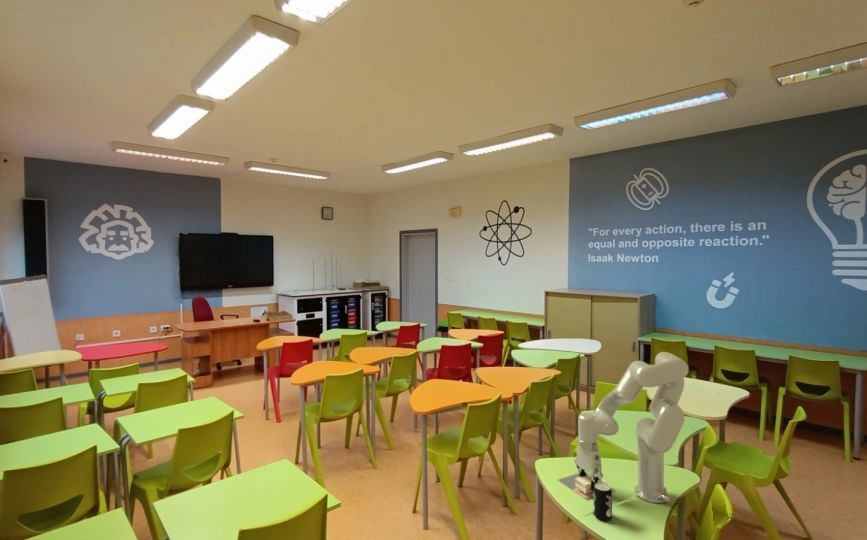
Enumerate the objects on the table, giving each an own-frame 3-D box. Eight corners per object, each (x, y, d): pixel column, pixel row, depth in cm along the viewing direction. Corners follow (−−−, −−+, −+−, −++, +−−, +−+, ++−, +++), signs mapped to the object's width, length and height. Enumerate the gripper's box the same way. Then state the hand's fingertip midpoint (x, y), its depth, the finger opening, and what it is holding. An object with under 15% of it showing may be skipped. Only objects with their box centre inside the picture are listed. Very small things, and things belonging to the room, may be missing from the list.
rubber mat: (616, 492, 180) (616, 490, 180) (587, 501, 173) (587, 500, 173) (584, 472, 196) (584, 470, 196) (557, 481, 190) (557, 479, 190)
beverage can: (602, 524, 159) (602, 492, 159) (589, 514, 165) (589, 484, 165) (616, 519, 162) (615, 488, 161) (602, 510, 168) (602, 480, 167)
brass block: (585, 493, 176) (585, 485, 175) (575, 486, 181) (575, 478, 181) (602, 488, 179) (601, 479, 179) (591, 481, 185) (591, 473, 185)
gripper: (610, 450, 173) (611, 493, 174) (579, 434, 189) (580, 474, 189) (596, 454, 170) (597, 498, 171) (566, 437, 186) (567, 478, 186)
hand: (588, 485), depth 180 cm, fingers closed on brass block, 5 cm apart
